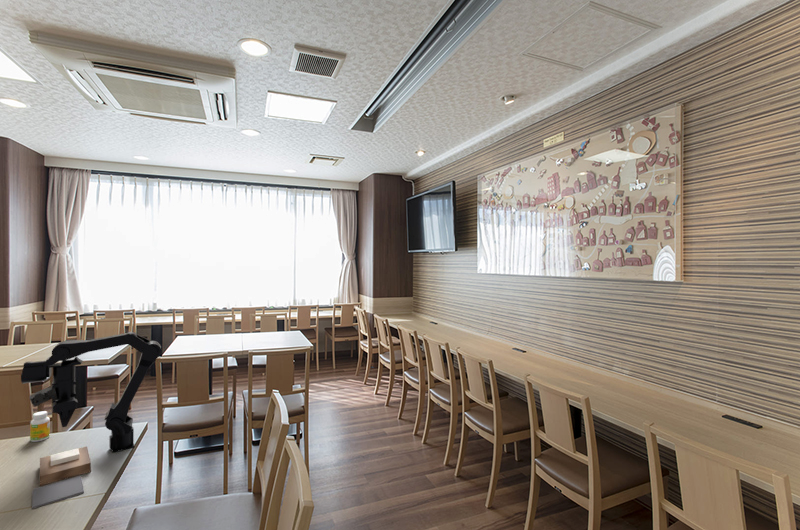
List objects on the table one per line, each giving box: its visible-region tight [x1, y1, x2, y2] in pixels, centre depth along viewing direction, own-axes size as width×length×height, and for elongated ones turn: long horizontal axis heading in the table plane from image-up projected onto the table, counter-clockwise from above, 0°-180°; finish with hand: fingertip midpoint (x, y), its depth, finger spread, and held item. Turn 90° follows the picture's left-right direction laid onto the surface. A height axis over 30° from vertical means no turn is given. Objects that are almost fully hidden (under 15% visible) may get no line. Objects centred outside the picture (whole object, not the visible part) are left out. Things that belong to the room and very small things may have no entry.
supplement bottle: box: [29, 410, 51, 443], centre depth 144 cm, size 5×5×10 cm
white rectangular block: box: [49, 447, 80, 466], centre depth 125 cm, size 7×5×2 cm
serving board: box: [39, 446, 92, 487], centre depth 124 cm, size 12×14×3 cm
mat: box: [31, 474, 85, 510], centre depth 113 cm, size 11×11×1 cm
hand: (64, 423), depth 131 cm, fingers open, 6 cm apart
